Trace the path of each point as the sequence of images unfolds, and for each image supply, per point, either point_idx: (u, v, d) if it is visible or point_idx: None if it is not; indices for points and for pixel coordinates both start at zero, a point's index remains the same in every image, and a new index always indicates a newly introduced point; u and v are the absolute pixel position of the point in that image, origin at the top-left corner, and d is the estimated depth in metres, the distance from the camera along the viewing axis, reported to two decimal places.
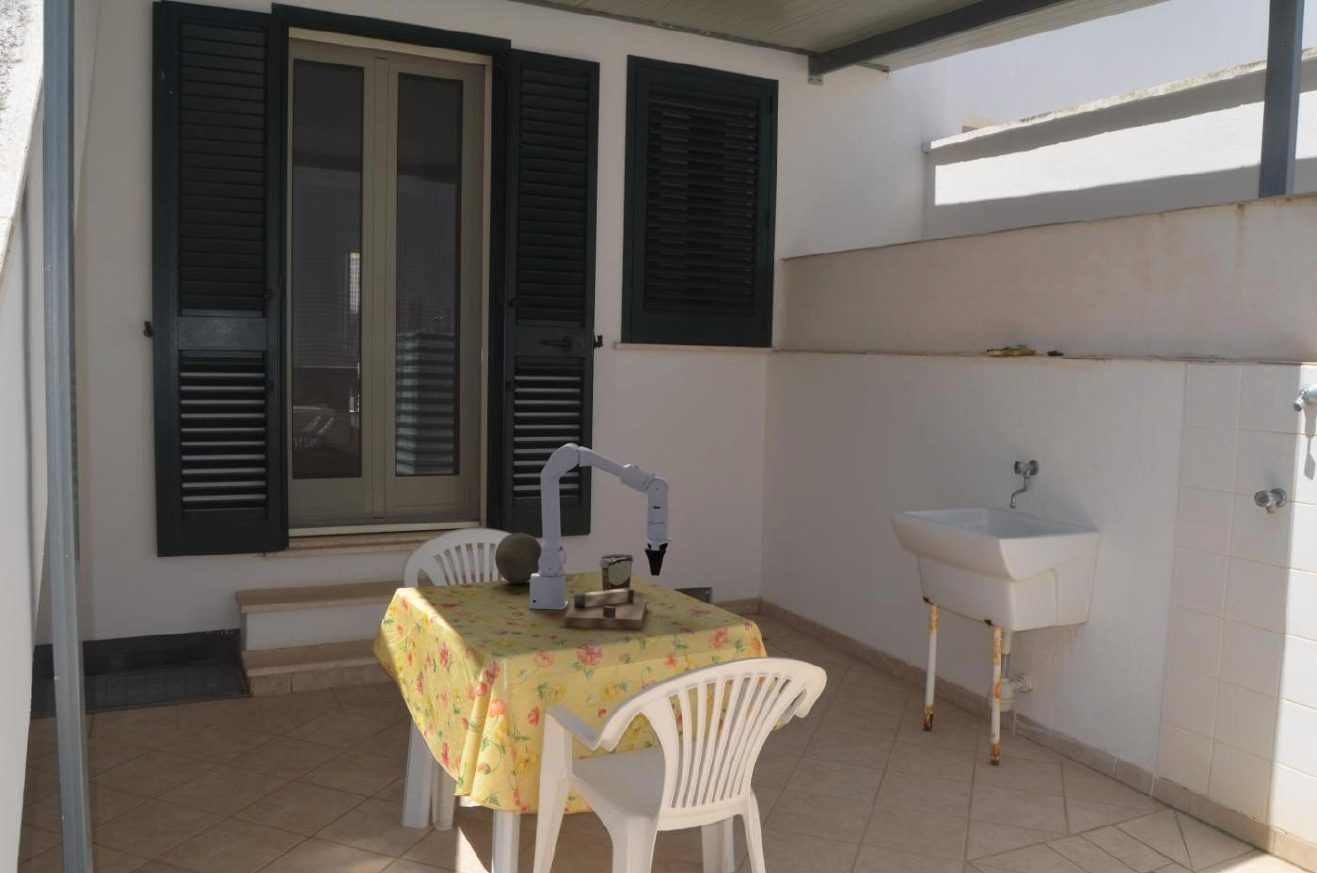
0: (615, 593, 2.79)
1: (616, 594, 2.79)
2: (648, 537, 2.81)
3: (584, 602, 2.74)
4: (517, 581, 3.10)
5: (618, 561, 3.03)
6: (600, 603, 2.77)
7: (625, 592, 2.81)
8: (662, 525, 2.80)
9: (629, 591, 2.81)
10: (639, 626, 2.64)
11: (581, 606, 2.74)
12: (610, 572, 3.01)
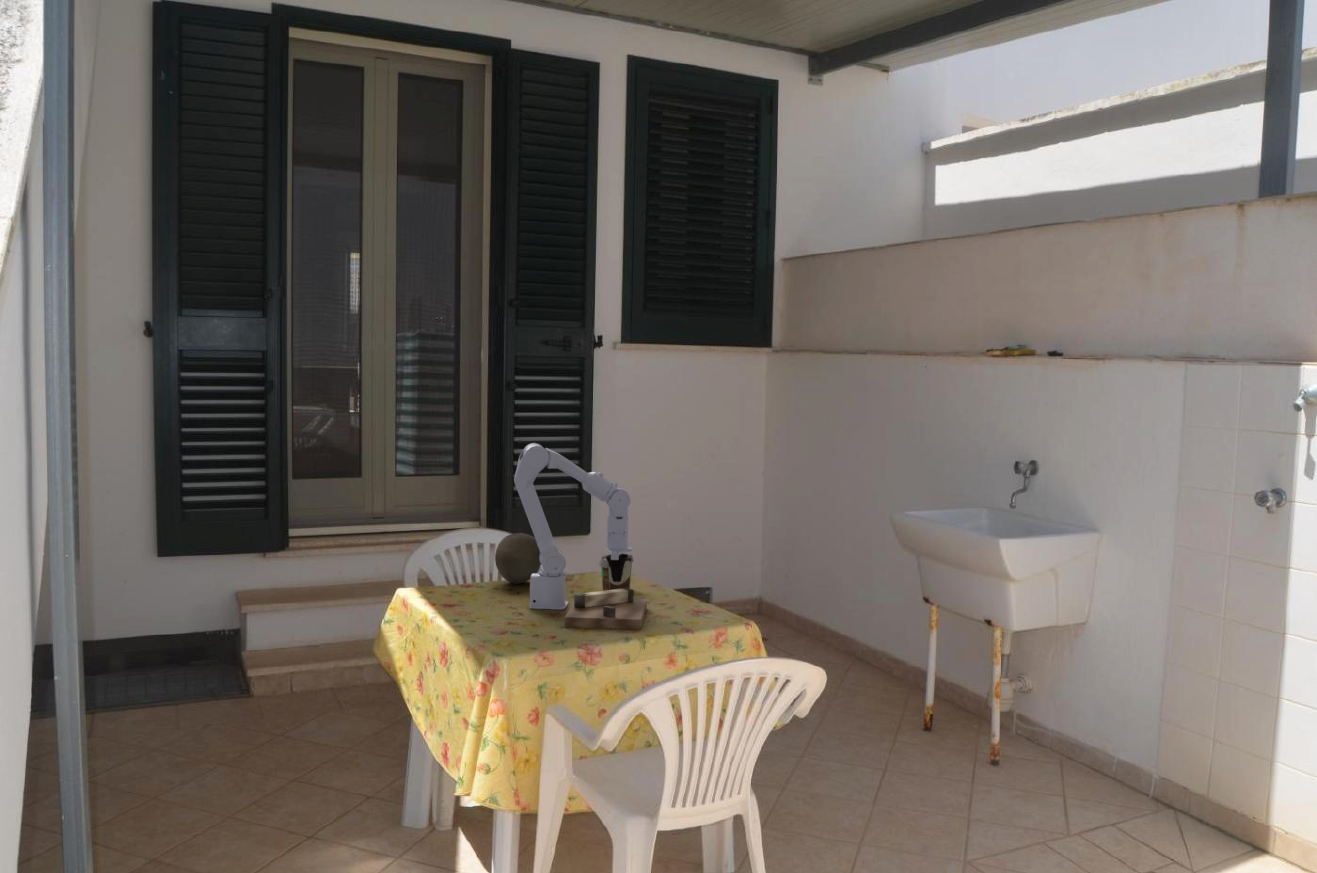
0: (615, 593, 2.79)
1: (616, 594, 2.79)
2: (608, 547, 2.87)
3: (584, 602, 2.74)
4: (517, 581, 3.10)
5: None
6: (600, 603, 2.77)
7: (625, 592, 2.81)
8: (622, 535, 2.86)
9: (629, 591, 2.81)
10: (639, 626, 2.64)
11: (581, 606, 2.74)
12: (610, 572, 3.01)
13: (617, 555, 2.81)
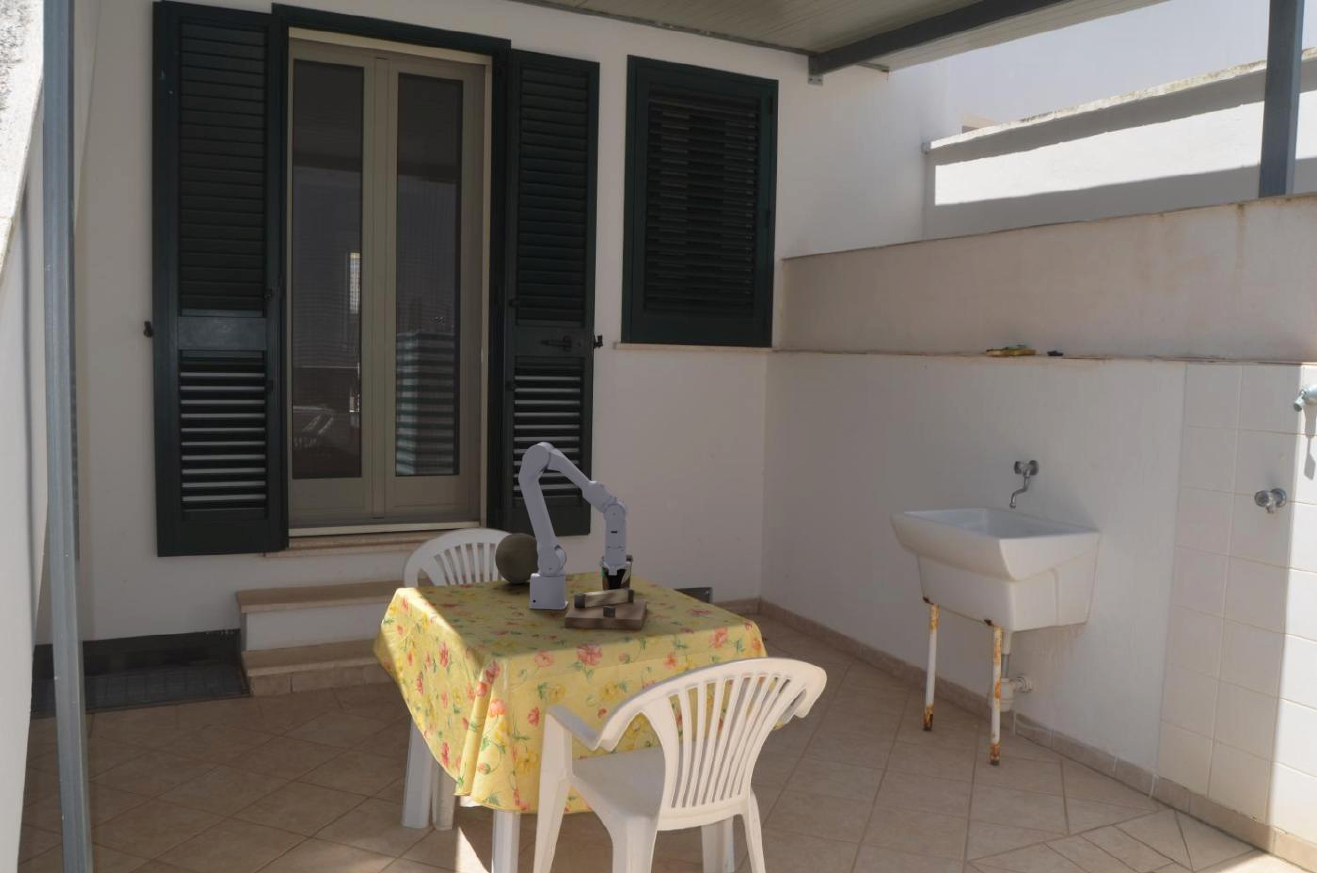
0: (615, 593, 2.79)
1: (616, 594, 2.79)
2: (606, 561, 2.82)
3: (584, 602, 2.74)
4: (517, 581, 3.10)
5: None
6: (600, 603, 2.77)
7: (625, 592, 2.81)
8: (620, 549, 2.81)
9: (629, 591, 2.81)
10: (639, 626, 2.64)
11: (581, 606, 2.74)
12: None
13: (615, 570, 2.76)
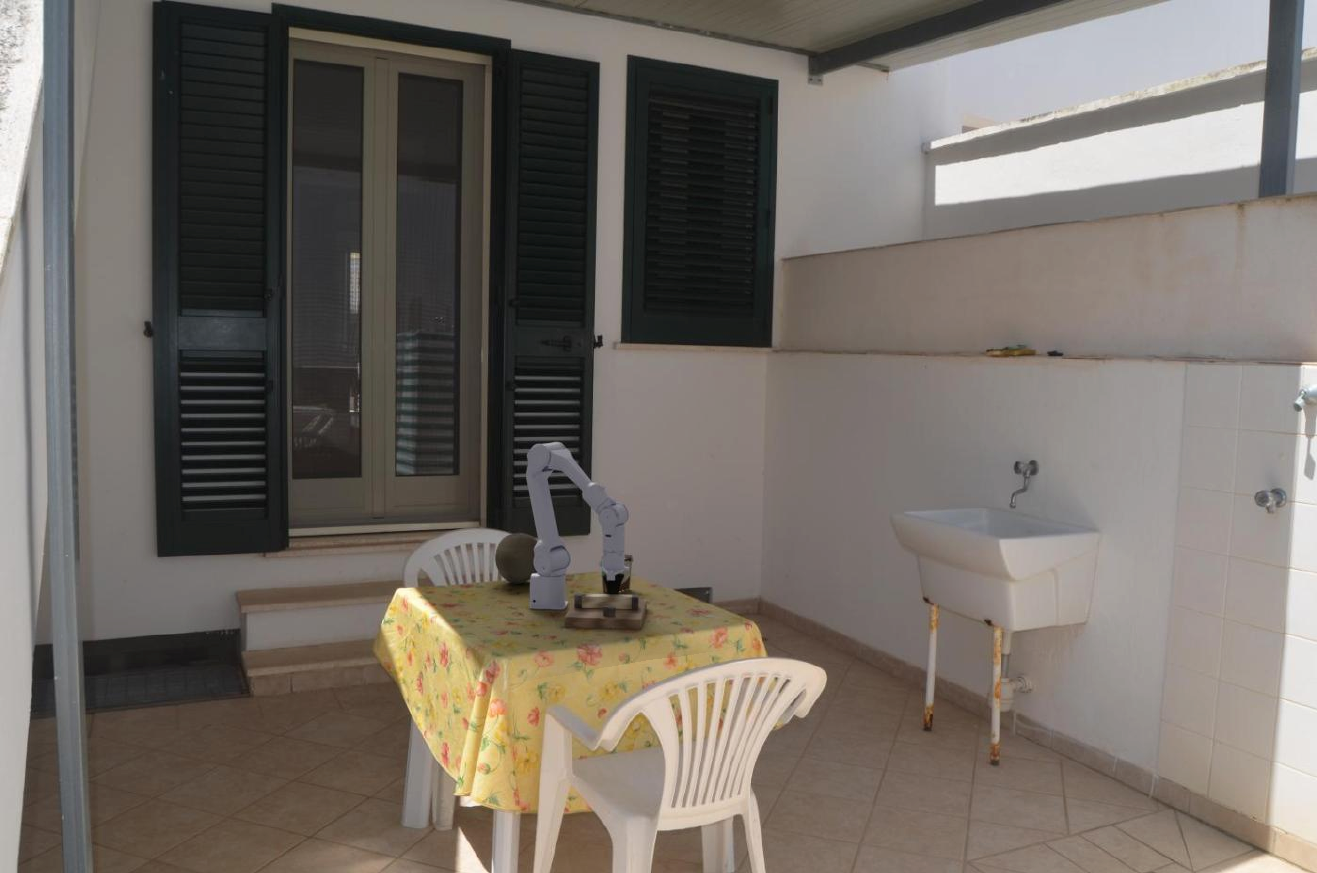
0: (617, 598, 2.73)
1: (617, 599, 2.73)
2: (604, 566, 2.75)
3: (581, 602, 2.74)
4: (517, 581, 3.10)
5: None
6: (599, 606, 2.74)
7: (628, 598, 2.73)
8: (618, 554, 2.74)
9: (633, 598, 2.73)
10: (639, 626, 2.64)
11: (577, 606, 2.74)
12: None
13: (613, 575, 2.69)
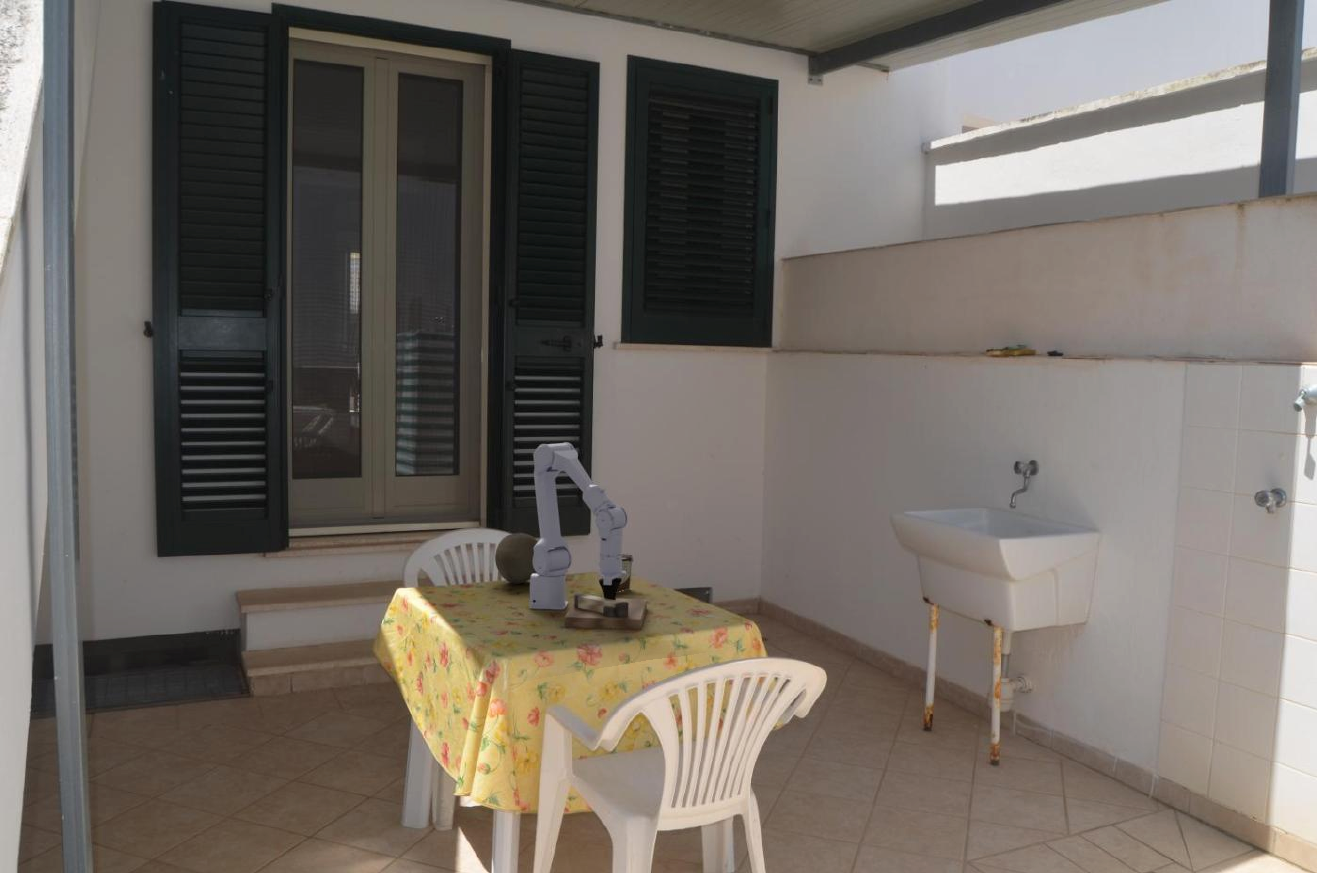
0: (604, 603, 2.68)
1: (604, 604, 2.68)
2: (601, 570, 2.70)
3: (577, 602, 2.74)
4: (517, 581, 3.10)
5: None
6: (591, 608, 2.71)
7: (613, 605, 2.66)
8: (616, 558, 2.69)
9: (616, 605, 2.65)
10: (639, 626, 2.64)
11: (575, 605, 2.75)
12: None
13: (610, 580, 2.65)
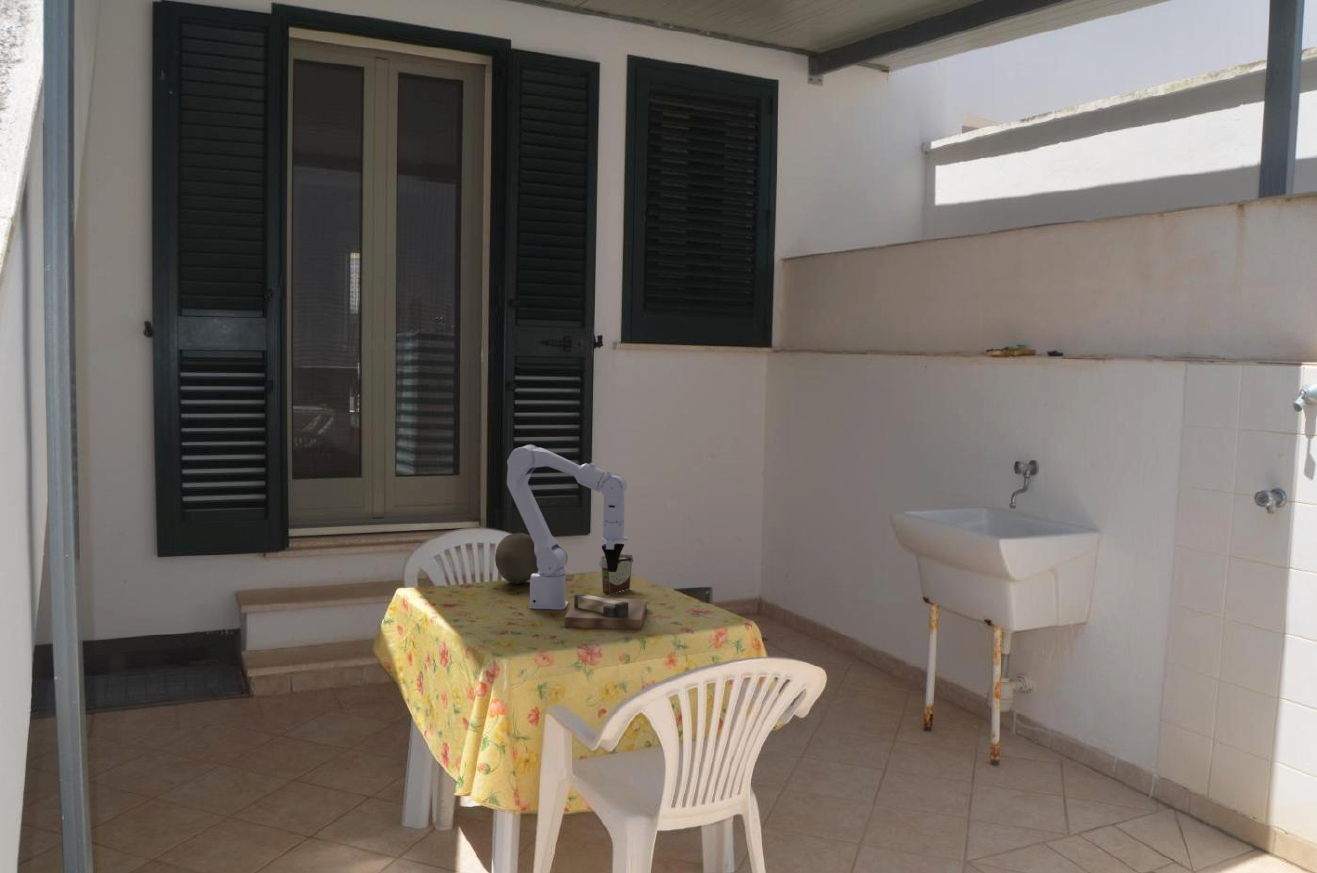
0: (604, 603, 2.68)
1: (604, 604, 2.68)
2: (604, 536, 2.80)
3: (577, 602, 2.74)
4: (517, 581, 3.10)
5: None
6: (590, 608, 2.71)
7: (613, 605, 2.66)
8: (618, 524, 2.79)
9: (616, 605, 2.65)
10: (639, 626, 2.64)
11: (575, 605, 2.75)
12: (610, 572, 3.01)
13: (612, 544, 2.75)
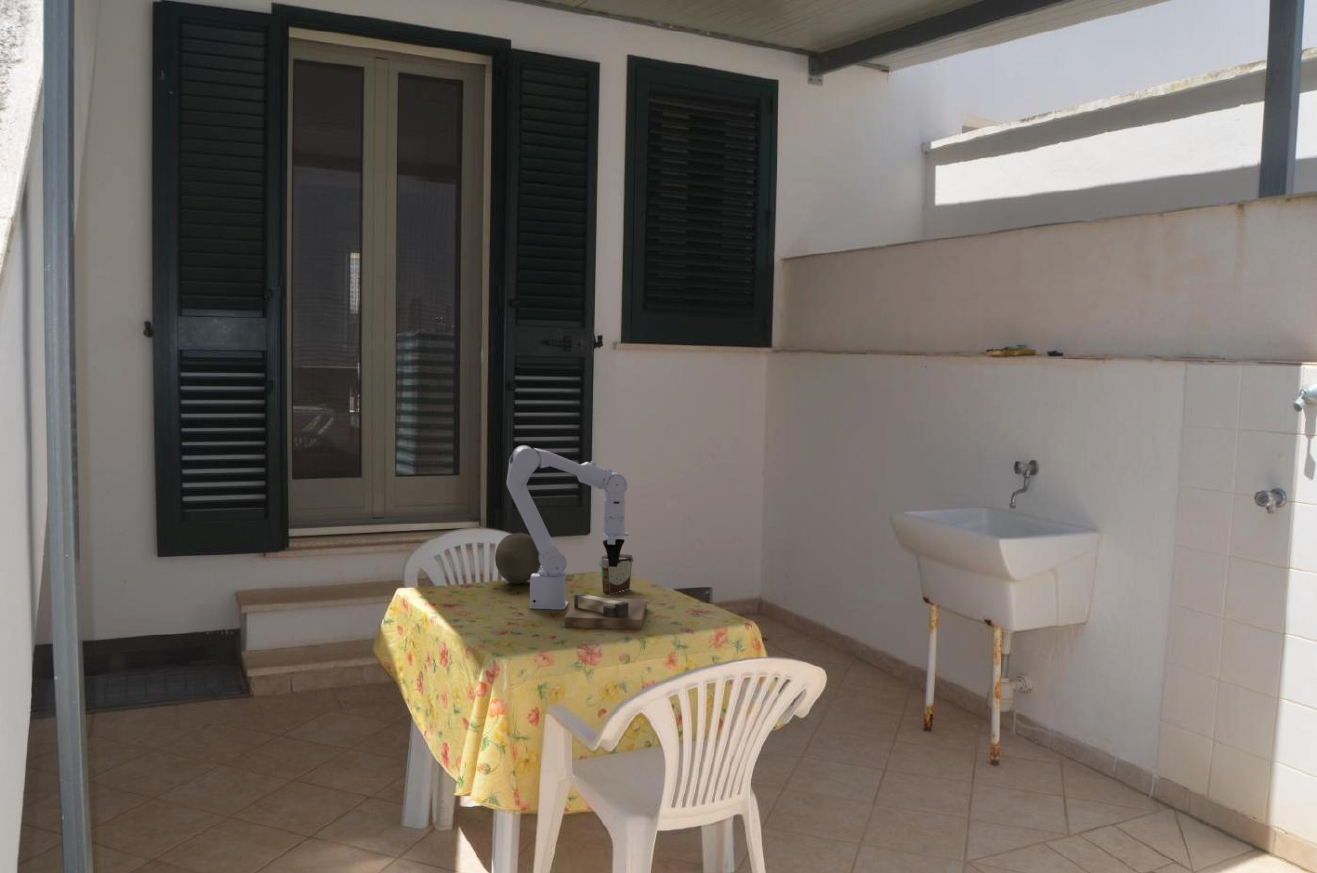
0: (604, 603, 2.68)
1: (604, 604, 2.68)
2: (605, 532, 2.87)
3: (577, 602, 2.74)
4: (517, 581, 3.10)
5: None
6: (590, 608, 2.71)
7: (613, 605, 2.66)
8: (619, 520, 2.86)
9: (616, 605, 2.65)
10: (639, 626, 2.64)
11: (575, 605, 2.75)
12: (610, 572, 3.01)
13: (614, 540, 2.81)
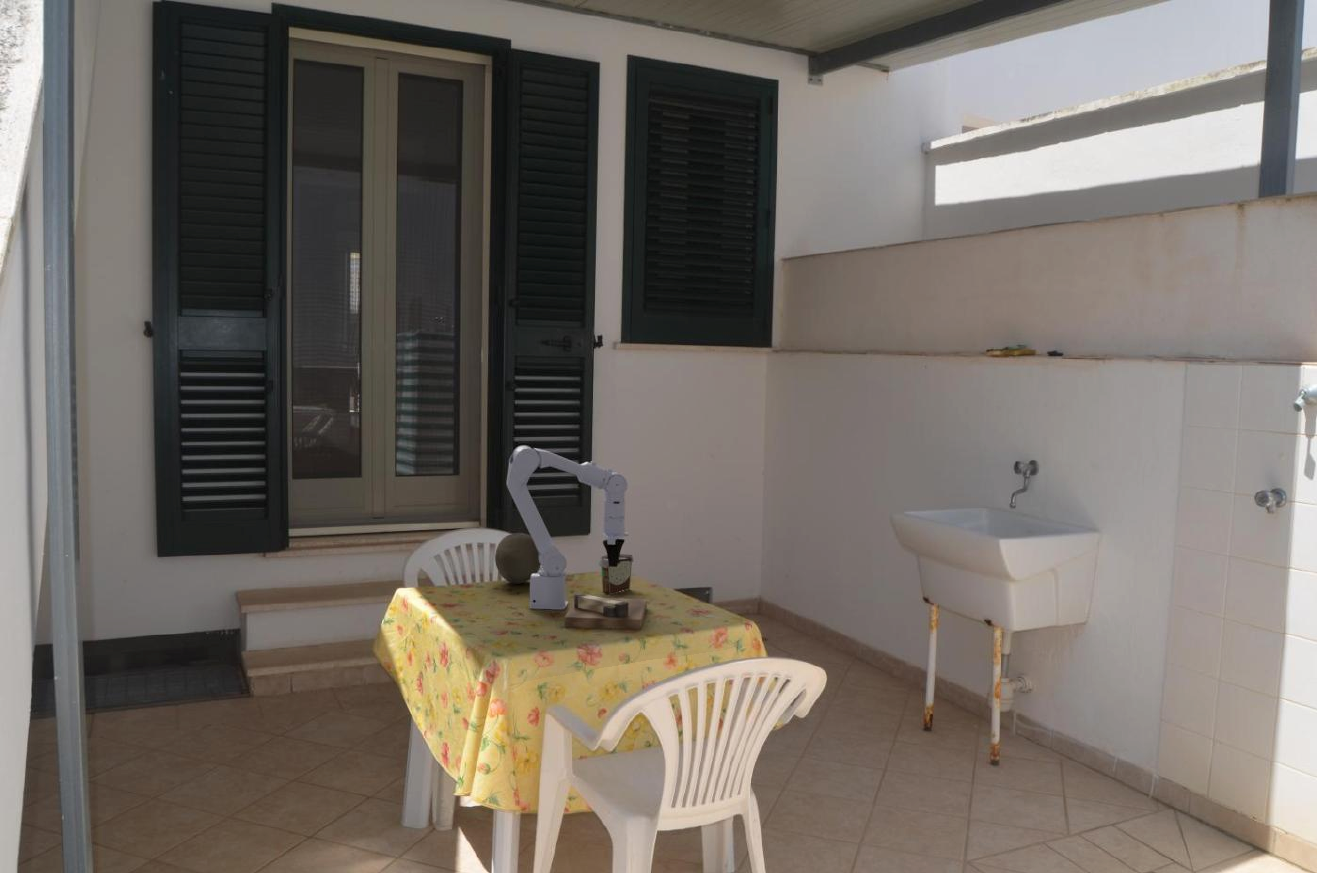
0: (604, 603, 2.68)
1: (604, 604, 2.68)
2: (605, 532, 2.87)
3: (577, 602, 2.74)
4: (517, 581, 3.10)
5: None
6: (590, 608, 2.71)
7: (613, 605, 2.66)
8: (619, 520, 2.86)
9: (616, 605, 2.65)
10: (639, 626, 2.64)
11: (575, 605, 2.75)
12: (610, 572, 3.01)
13: (614, 540, 2.81)
